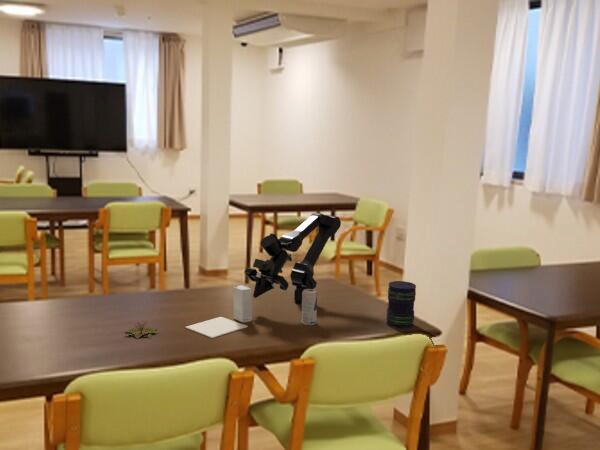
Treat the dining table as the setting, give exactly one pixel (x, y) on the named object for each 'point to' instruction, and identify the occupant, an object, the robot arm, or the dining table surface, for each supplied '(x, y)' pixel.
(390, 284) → the storage jar
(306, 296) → the energy drink
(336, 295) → the dining table surface
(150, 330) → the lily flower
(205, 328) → the mat
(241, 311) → the skincare box
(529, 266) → the dining table surface
